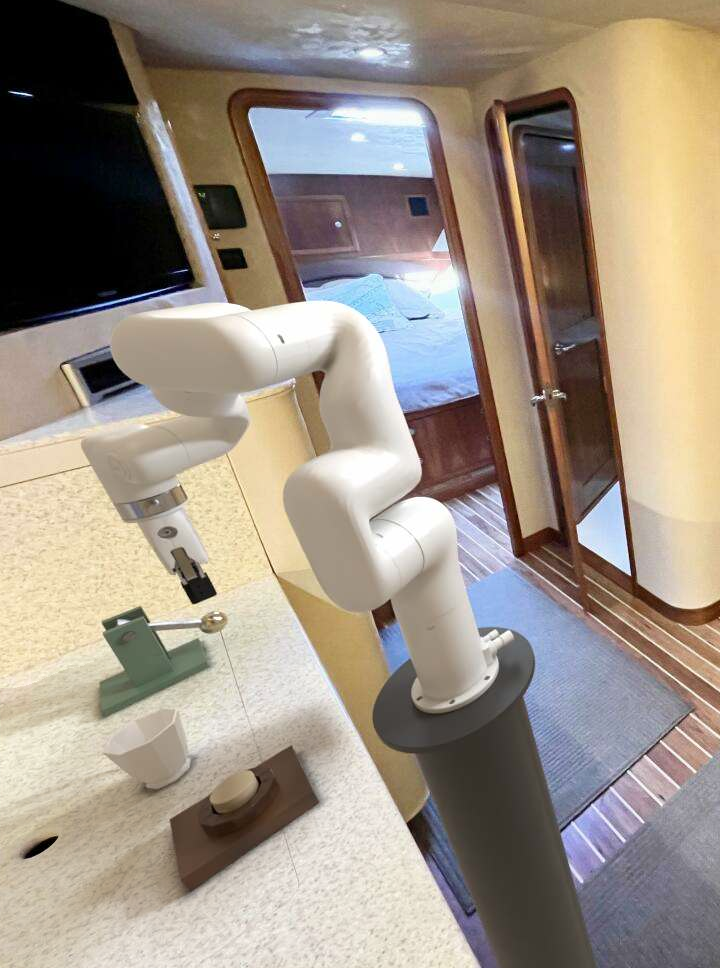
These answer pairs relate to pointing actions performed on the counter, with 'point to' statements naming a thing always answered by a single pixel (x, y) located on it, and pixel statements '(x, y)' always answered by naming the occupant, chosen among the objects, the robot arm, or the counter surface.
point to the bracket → (144, 661)
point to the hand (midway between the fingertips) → (204, 597)
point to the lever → (189, 623)
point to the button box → (240, 819)
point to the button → (234, 792)
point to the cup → (151, 748)
